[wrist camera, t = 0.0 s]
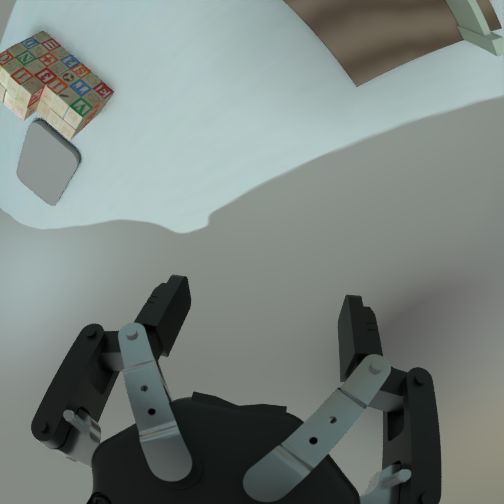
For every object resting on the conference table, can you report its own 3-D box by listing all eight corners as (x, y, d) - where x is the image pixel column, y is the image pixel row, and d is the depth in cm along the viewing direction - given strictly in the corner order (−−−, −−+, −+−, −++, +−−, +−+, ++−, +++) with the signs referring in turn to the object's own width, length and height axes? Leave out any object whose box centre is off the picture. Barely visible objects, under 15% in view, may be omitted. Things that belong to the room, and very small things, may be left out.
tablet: (20, 171, 52) (15, 176, 51) (38, 111, 38) (31, 117, 36) (57, 203, 62) (53, 208, 61) (86, 153, 47) (81, 160, 46)
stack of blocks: (115, 91, 35) (70, 129, 28) (99, 113, 39) (58, 154, 32) (43, 30, 23) (-9, 58, 16) (32, 55, 26) (-16, 86, 19)
